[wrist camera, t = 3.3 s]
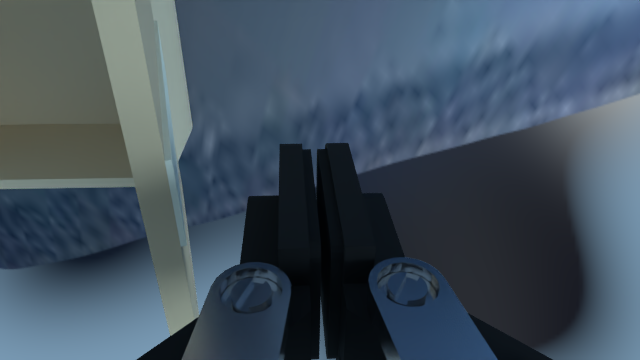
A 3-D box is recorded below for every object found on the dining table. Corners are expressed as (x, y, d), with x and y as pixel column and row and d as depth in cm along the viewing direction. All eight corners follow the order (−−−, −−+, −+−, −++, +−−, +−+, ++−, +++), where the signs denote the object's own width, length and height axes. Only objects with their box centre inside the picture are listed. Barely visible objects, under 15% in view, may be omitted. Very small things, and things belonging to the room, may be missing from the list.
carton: (153, -144, 24) (101, -161, 18) (192, 127, 33) (167, 186, 26) (-120, -151, 23) (-287, -172, 17) (-8, 129, 32) (-89, 190, 25)
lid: (103, -162, 17) (126, -161, 18) (169, 188, 26) (184, 186, 26) (26, -278, 6) (95, -270, 6) (189, 415, 14) (215, 407, 15)
